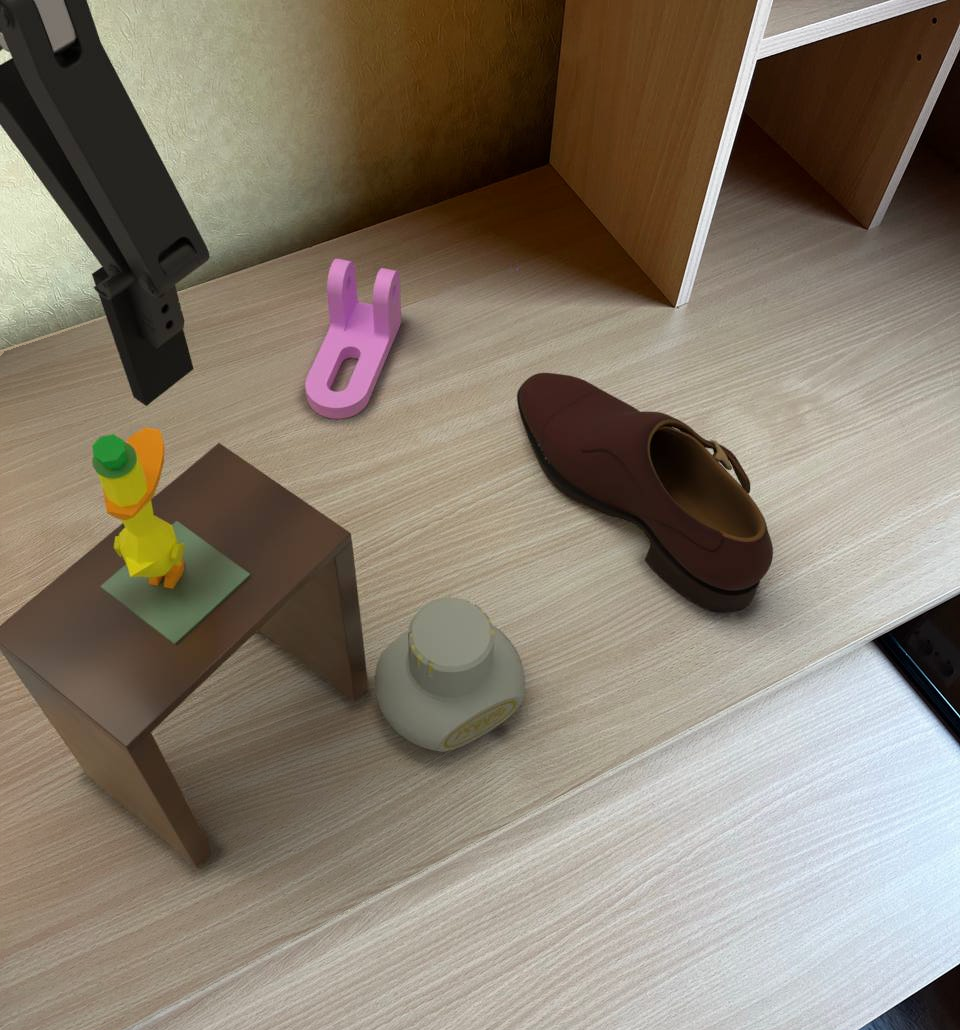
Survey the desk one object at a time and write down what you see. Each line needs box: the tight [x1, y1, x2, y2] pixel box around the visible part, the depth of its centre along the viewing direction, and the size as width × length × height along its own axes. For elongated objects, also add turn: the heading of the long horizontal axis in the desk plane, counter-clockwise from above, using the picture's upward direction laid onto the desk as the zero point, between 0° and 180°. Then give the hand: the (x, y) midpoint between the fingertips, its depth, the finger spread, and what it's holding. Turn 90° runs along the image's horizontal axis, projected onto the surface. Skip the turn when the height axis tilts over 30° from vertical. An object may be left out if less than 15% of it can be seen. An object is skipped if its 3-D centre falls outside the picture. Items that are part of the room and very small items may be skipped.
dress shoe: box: [516, 372, 774, 613], centre depth 87 cm, size 9×28×12 cm, turn 37°
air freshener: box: [374, 597, 526, 753], centre depth 78 cm, size 11×8×10 cm
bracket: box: [304, 258, 403, 420], centre depth 96 cm, size 13×6×7 cm, turn 165°
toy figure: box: [91, 427, 185, 589], centre depth 58 cm, size 7×4×12 cm, turn 171°
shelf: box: [0, 442, 370, 869], centre depth 72 cm, size 11×18×20 cm, turn 142°
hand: (54, 308), depth 48 cm, fingers open, 13 cm apart
